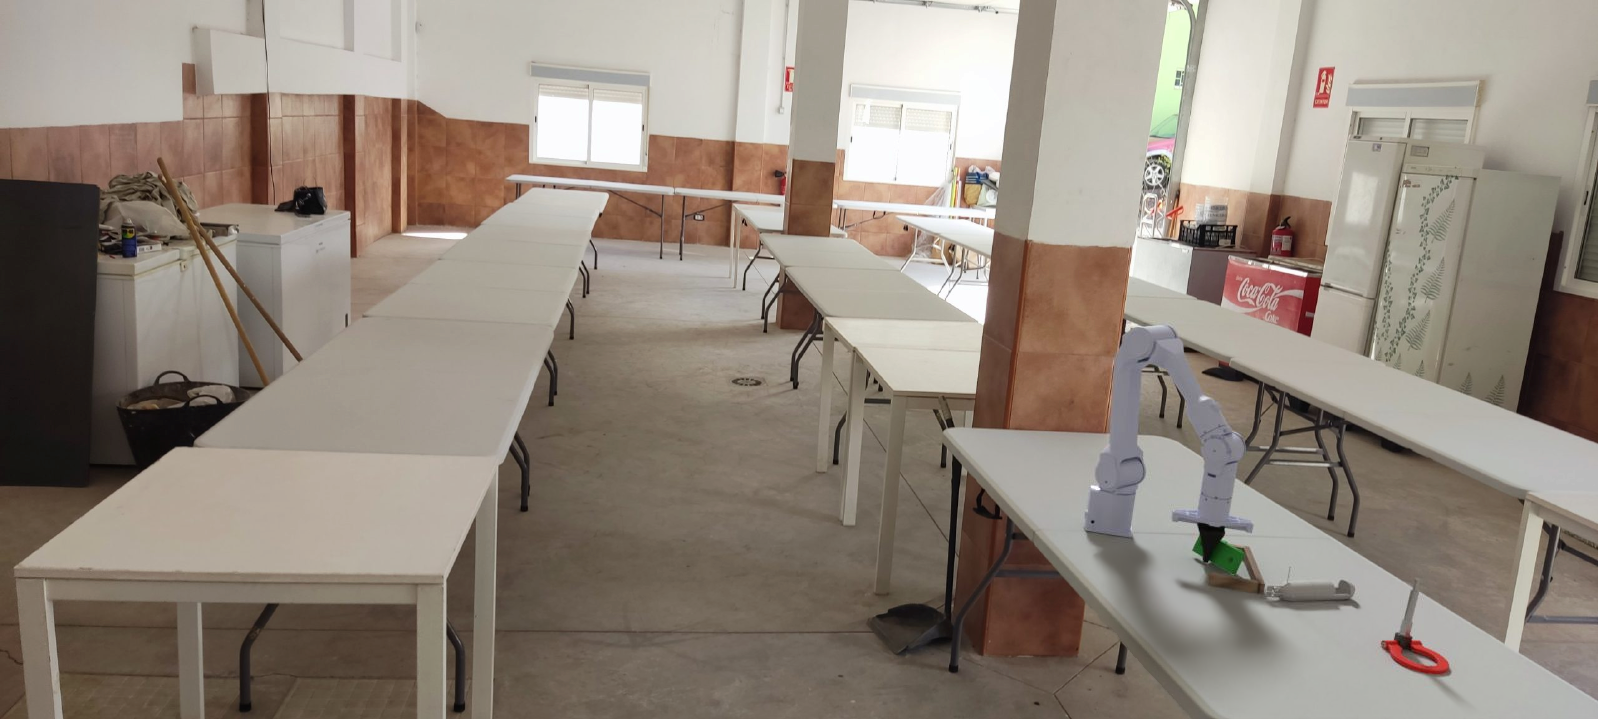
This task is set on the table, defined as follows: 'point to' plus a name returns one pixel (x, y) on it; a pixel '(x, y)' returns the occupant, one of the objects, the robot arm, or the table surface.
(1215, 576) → the walnut bay
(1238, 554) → the pipe clamp
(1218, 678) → the table surface
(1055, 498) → the table surface
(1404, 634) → the tow hook
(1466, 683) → the table surface
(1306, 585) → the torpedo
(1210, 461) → the robot arm
